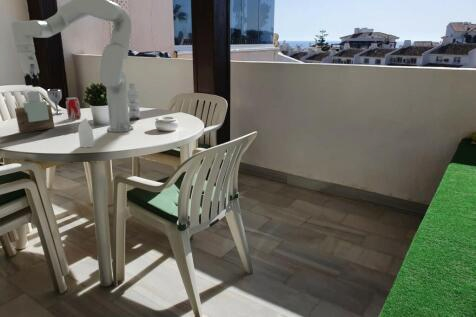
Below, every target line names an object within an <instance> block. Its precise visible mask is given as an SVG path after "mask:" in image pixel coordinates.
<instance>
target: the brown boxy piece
mask: <svg viewBox="0 0 476 317" xmlns="http://www.w3.org/2000/svg"><path fill="white" fill-rule="evenodd" d="M47 109H48V115H49V119H48V120H41V121H34V122H29V121H28V116H27V113H26V112H25V110H24V106H23V107H22V106H21V107H14V112H15V116H16V117H15V118H16V122H17V127H18V131H19V133H20V134H21V133H28V132H34V131H41V130H48V129H53V128H56V127H55V122H54V115H52V114H53V111H52V104H48V103H47Z"/></svg>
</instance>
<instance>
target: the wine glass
mask: <svg viewBox="0 0 476 317" xmlns="http://www.w3.org/2000/svg"><path fill="white" fill-rule="evenodd" d="M46 94H47V98H48V99H49V101H50V102H52V104H54V106H55V109H56V110H55V111H56V112H55V113H52V115H53V116H61V115H64V114H65V113H63V112H59V108H58V107H59V106H58V105H59V103H60V101H61V100H62V96H63V95H62V89H60V88H53V89H52V88H51V89H50V88H49V89H47V90H46Z"/></svg>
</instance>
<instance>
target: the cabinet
mask: <svg viewBox="0 0 476 317" xmlns="http://www.w3.org/2000/svg"><path fill="white" fill-rule="evenodd" d="M26 94H27V99H28V100H27V101H24V102H22V104H23V107H24V110H25V112H26V113H27V116H28V121H29V122H34V121H41V120H48V119H49V115H48V109H47V105H48V103H47V101H46V100H41V97H40V92H39V91H38V90H37V91H36V90H35V91H27V92H26Z"/></svg>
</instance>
